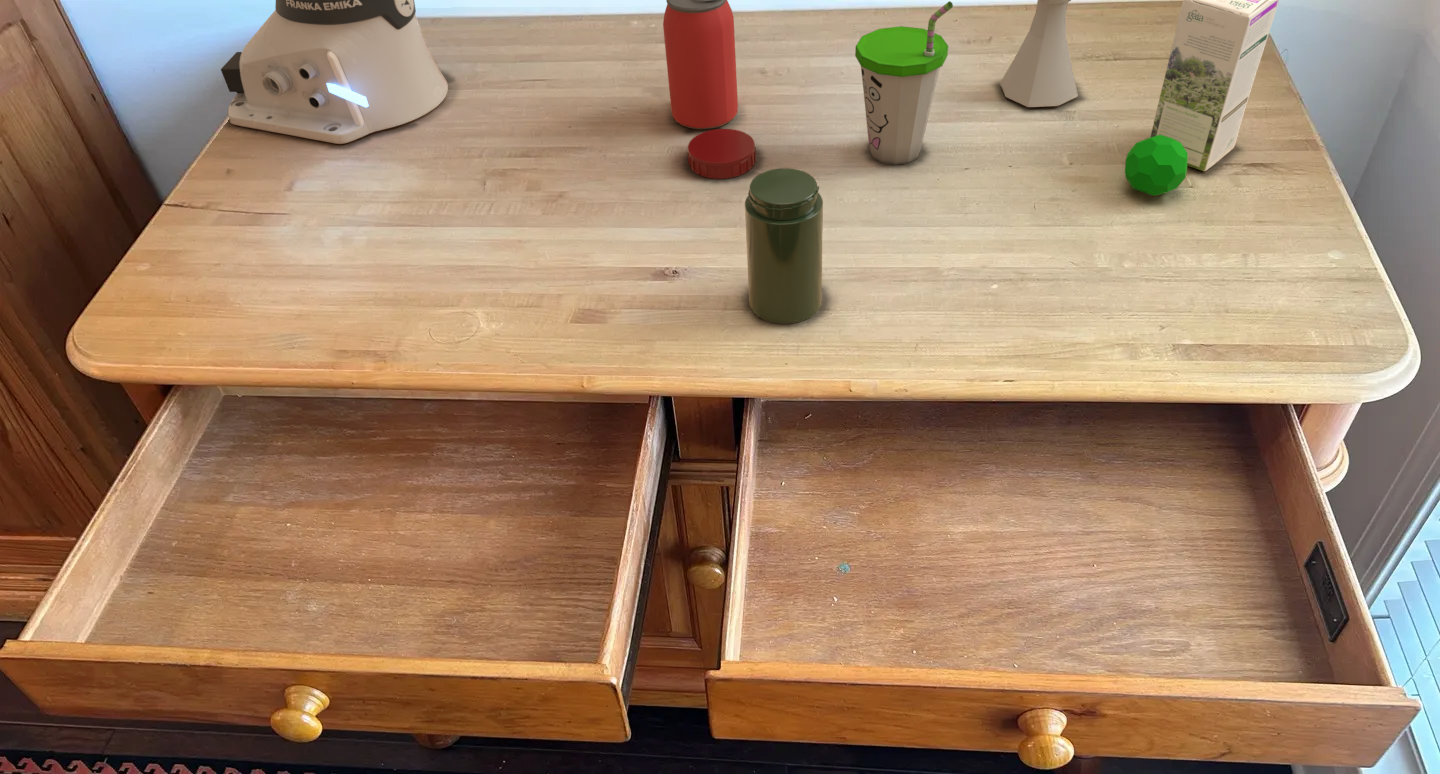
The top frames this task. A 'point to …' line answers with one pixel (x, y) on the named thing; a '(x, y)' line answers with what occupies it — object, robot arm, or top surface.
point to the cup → (900, 86)
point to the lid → (721, 153)
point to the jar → (784, 245)
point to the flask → (1043, 61)
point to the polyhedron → (1156, 165)
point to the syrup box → (1212, 75)
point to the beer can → (701, 62)
